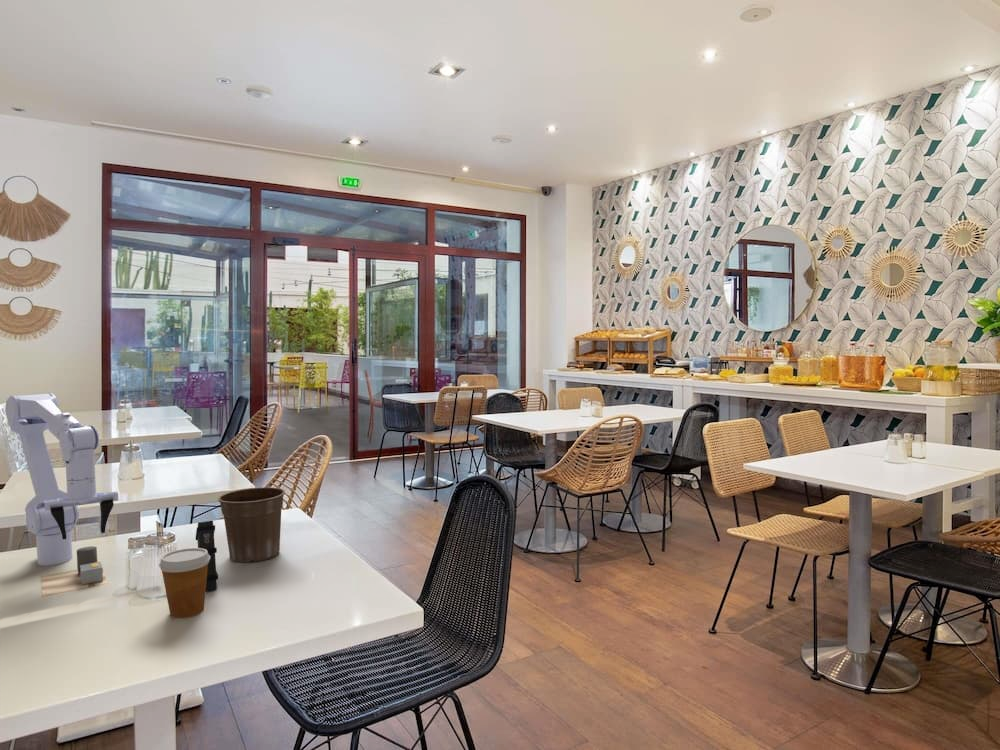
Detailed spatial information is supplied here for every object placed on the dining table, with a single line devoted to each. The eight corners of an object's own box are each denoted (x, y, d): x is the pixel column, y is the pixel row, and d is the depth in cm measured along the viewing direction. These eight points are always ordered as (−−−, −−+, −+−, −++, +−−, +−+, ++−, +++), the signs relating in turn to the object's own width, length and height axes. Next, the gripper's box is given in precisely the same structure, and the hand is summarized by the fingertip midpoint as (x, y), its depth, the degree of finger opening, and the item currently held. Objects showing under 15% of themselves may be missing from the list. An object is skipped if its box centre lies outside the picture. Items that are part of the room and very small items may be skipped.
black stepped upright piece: (200, 591, 140) (196, 522, 145) (198, 598, 151) (195, 533, 156) (219, 587, 142) (214, 519, 147) (216, 594, 153) (212, 531, 158)
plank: (41, 582, 151) (41, 575, 151) (101, 571, 158) (101, 564, 158) (42, 603, 139) (42, 595, 139) (107, 589, 146) (107, 582, 146)
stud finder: (80, 578, 149) (79, 564, 149) (101, 574, 151) (100, 560, 151) (82, 584, 145) (81, 570, 145) (102, 580, 147) (102, 566, 147)
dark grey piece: (77, 577, 154) (76, 548, 154) (97, 573, 156) (95, 545, 156) (78, 582, 151) (77, 553, 150) (98, 578, 153) (97, 549, 153)
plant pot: (205, 561, 164) (203, 498, 163) (252, 542, 179) (250, 485, 178) (255, 569, 158) (253, 504, 157) (300, 549, 173) (298, 489, 172)
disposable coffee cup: (161, 625, 127) (158, 565, 126) (161, 608, 135) (158, 551, 135) (214, 615, 131) (211, 557, 131) (211, 599, 140) (208, 544, 139)
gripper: (43, 485, 145) (47, 545, 145) (118, 476, 153) (121, 533, 154) (42, 480, 150) (46, 537, 151) (115, 472, 159) (117, 526, 160)
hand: (83, 535), depth 153 cm, fingers open, 7 cm apart
